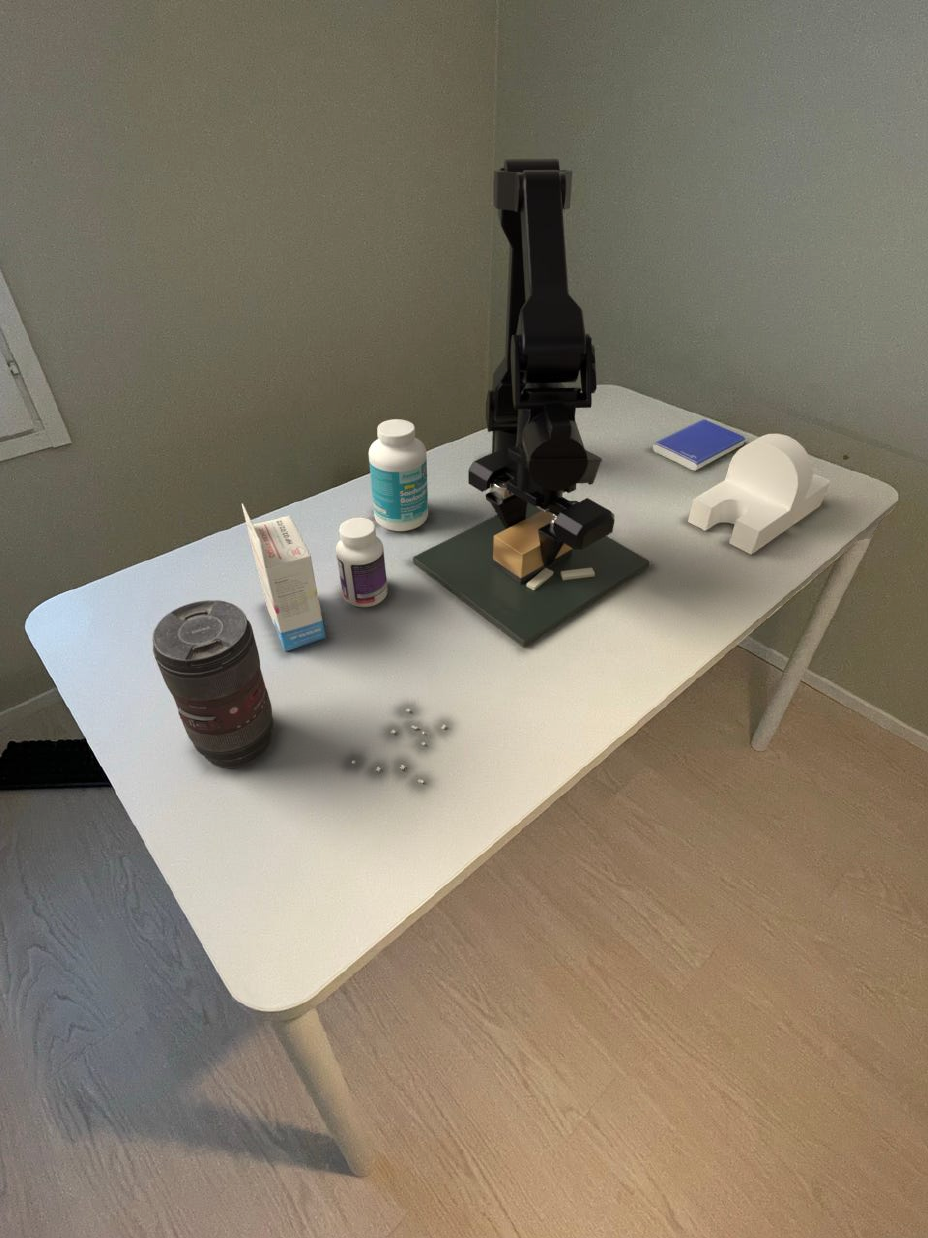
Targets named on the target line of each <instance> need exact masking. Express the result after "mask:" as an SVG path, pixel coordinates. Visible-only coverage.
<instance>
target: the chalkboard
mask: <svg viewBox="0 0 928 1238" xmlns="http://www.w3.org/2000/svg"><path fill="white" fill-rule="evenodd" d="M539 512H541V510H540V509H538V508H536V507H535V506H533V505H531V504H530V503H528V504H527V510H526V519H527V518H529V517H531V516H533V515H535V514H537V513H539ZM504 530H506V529H505V527H504V526H503V524H502V522H501V520H500V518H499V517H498V515H497V514H496V515H494V516H492V517H490V518H488V519H486V520H484V521H482V522H480V523H478V524H476V525H474V526H471V527H470V528H468V529H466V530H464V531H462V532H460V533H458V534H456V535H454V536H452V537H450V538H448V539H447V540H444V541H442V542H440V543H438V544H437V545H434V546H432V547H430V548H428V549H427V550H424V551H422V552H420V553H418V554H417V555H415V556H412V564H414V565H415V566H416V567H417V568H418V569H420V570H421V571H423V573H425V574H426V575H428V576H429V577H430V578H431V579H433V580H434V581H436V582H437V583H438V584H440V585H441V586H442V587H444V588H445V589H446V590H447V591H449V592H450V593H451V594H453V595H454V597H457V598H458V599H460V601H462V602H463V603H464V604H465V605H467V606H469V608H471V609H472V610H474V611H475V612H476V613H478V614H479V615H480V616H481V617H483V618H484V619H485V620H487V621H488V622H489V623H491V625H493V626H494V627H496V628H497V629H498V630H499V631H501V632H502V633H504V634H505V635H506V636H508V637H509V638H510V639H511V640H513V641H514V642H515V643H517V644H518V645H519V646H521V647H522V648H526V647H527V646H528V645H530V644H531V643H533V642H534V641H536V640H538V639H539V638H540V637H542V636H543V635H546V634H547V633H548V632H550V631H552V630H553V629H554V628H556V627H558V626H559V625H561V624H563V623H564V622H565V621H567V620H569V619H570V618H572V617H573V616H575V615H576V614H577V613H579V612H581V611H582V610H584V609H586V608H587V607H589V606H590V605H592V604H593V603H595V602H597V601H598V600H600V599H602V598H603V597H605V596H606V595H607V594H609V593H611V592H613V591H614V590H615V589H617V588H618V587H620V586H622V585H623V584H625V583H626V582H628V581H629V580H631V579H633V578H634V577H636V576H638V575H639V574H640V573H642V572H643V571H645V570H647V569H648V568H649V567H650V562H651V561H650V560H649V559H647V558H645V557H643V556H642V555H640V554H639V553H637V552H635V551H633V550H632V549H630V548H628V547H626V546H625V545H623V544H621V543H619V542H618V541H616V540H615V539H613V538H611V537H609V536H608V535H607V536H605V537H603V538H601V539H600V540H598V541H596V542H594V543H593V544H591V545H589V546H588V547H586V548H584V549H582V550H575V549H572V555H571V556H569V557H567V558H566V559H564V560H562V561H560V562H559V563H557V564H555V565H553V566H552V567H550V568H548V569H549V570H551V571H553V575H552V576H551V577H550V578H548V579H547V580H546V581H545V582H544V583H543V584H541V585H540V586H539V587H538V588H537V589H536V590H532V589H530V588H528V587H527V586H526V585H527V583H528V582H529V581H530V580H531V579H533V578H534V577H535V576H534V577H533V578H531V579H529V580H527V581H526V582H524V583H522V584H519V583H518V582H517V581H515V580H514V579H512V578H511V577H509V576H508V575H507V574H505V573H504V572H502V571H501V570H499V569H498V568H497V567H495V566H494V565H493V546H494V535H496V534H498V533H500V532H502V531H504ZM584 568H592V569H593V571H594V573H595V576H593V577H585V578H577V579H569V580H563V579H562V577H561V575H560V573H561V571H567V570H575V569H584Z"/></svg>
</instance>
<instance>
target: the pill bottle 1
mask: <svg viewBox="0 0 928 1238" xmlns="http://www.w3.org/2000/svg"><path fill="white" fill-rule="evenodd" d="M338 529H339V530H338V531H339V537H340V540H339V541H338V542H337V544H336V547H335V554H336V561H337V567H338V572H339V573H338V574H339V579H340V586H341V592H342V597H343V599H344V600H345V602H346V603H348V604H349V605H351V606H354V607H357V608H369V607H370V608H371V607H373V606H376V605H379V604H380V603H381V602H383V601H384V600H385V598H386V597H387V595H388V590H389V589H388V579H387V578H388V577H387V571H386V562H385V561H386V560H385V551H384V543H383V542H382V539H380V537H378V536H377V530H376V525H375V523H374V521H372V520H370V519H368V518H365V517H353V518H352V517H351V518H349V519H346V520H345V521H344V522H342V523H341V524H340V526H339V528H338Z"/></svg>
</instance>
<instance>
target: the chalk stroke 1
mask: <svg viewBox="0 0 928 1238" xmlns="http://www.w3.org/2000/svg"><path fill="white" fill-rule="evenodd" d="M552 575H553V571H551V570H549V569H547V568H545V569H543V570H542V571H541V572H540V573H539V574H537V575H536V576H535V577H534V578H533V579H531V580H530V581H529V582H528V583H527V585H526V586H527V587H528V588H530V589H532V590H536V589H537V588H538V587H539V586H540V585H541V584H543V583H544V582H545V581H546V580H547V579H548V578H550V577H551V576H552Z"/></svg>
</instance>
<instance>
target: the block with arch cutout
mask: <svg viewBox="0 0 928 1238" xmlns="http://www.w3.org/2000/svg"><path fill="white" fill-rule="evenodd" d="M829 485H830V479H827V478H825V477H823V476H821V475H818V474H816V473H814V474H813V464H812V460H811V457H810V455H809V454H808V451H807V450H806V448H805V447H804V446H803V445H802V444H801V443H799V441H797V440H796V439H794V438H793V437H791V436H789V435H785V434H782V433H767V434H764V435H761V436H759V437H757V438H756V439H754V440H752V441H751V442H749V443H747V444H745V445H744V446H742V447H740V448H739V449H738V450H736V452H735V454H734V455H733V456H732V457H731V460H730V462H729V466H728V469H727V472H726V475H725V478H724V479H723V481H721V482H719V483H718V484H716V485H714V486H713V487H711V488H709V489H707V490H705V491H704V492H702V493H701V494H699V495H697V496H696V497H694V498H693V500H692V504H691V507H690V511H689V516H688V520H687V522H688V523H689V524H691V525H693V526H695V527H697V528H699V529H701V530H703V531H704V532H706V531H708V530H709V529H711V528H712V527H714V526H715V525H717V524H721V523H727V524H732V525H734V526H733V528H732V532H731V535H730V537H729V541H728V544H730V545H732V546H733V547H736V548H738V550H740V551H743V552H745V553H747V554H749V555H753V554H754V553H756V552H757V551H759V550H760V549H762V548H763V547H764V546H766V545H767V544H769V543H770V542H771V541H773V540H774V539H776V538H777V537H779V536H780V535H781V534H782V533H784V532H786V531H787V530H788V529H790V528H791V527H792V526H795V524H797V523H798V522H800V521H801V520H803V519H804V518H805V517H807V516H808V515H809V514H811V513H812V512H814V511H815V510H817V509H818V508H819V507H821V505H822V503H823V500H824V497H825V495H826V492H827V490H828V487H829Z"/></svg>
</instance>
